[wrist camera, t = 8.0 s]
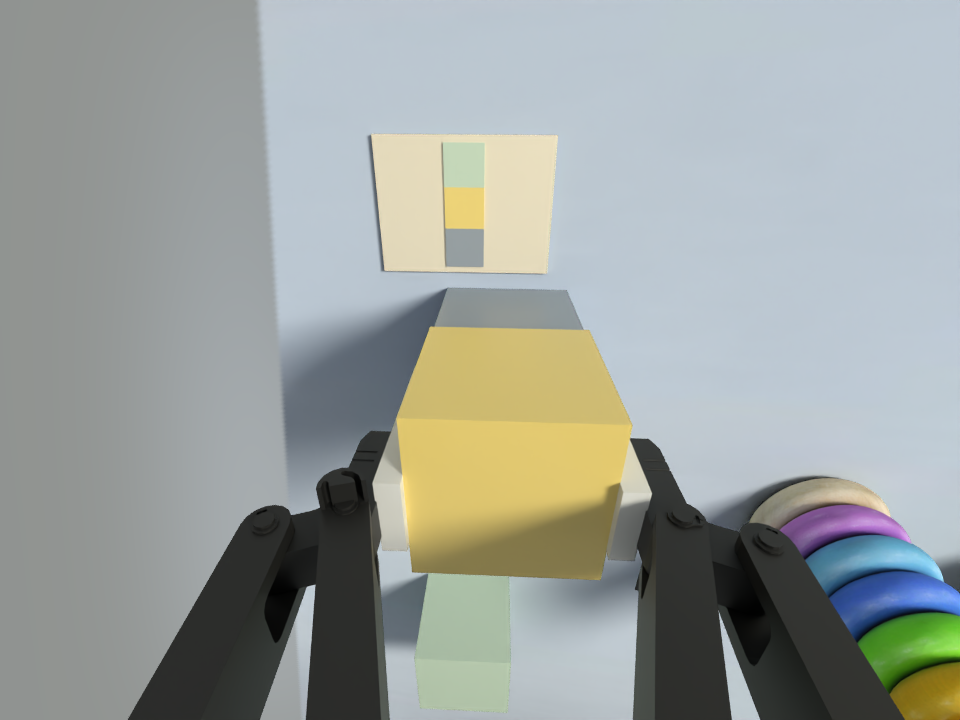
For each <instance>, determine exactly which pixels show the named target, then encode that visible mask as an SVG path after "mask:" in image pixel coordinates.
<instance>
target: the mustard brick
mask: <svg viewBox="0 0 960 720" xmlns="http://www.w3.org/2000/svg"><path fill="white" fill-rule="evenodd" d="M396 419H397V429H398V438H399V448H400V458H401V468H402V476H403V486H404V496H405V505H406V515H407V525H408V535H409V546H410V556H411V565H412V572H417V573H442V574H466V575H490V576H514V577H538V578H562V579H586V580H601V576H602V571H603V566H604V561H605V556H606V549H607V544H608V539H609V534H610V529H611V524H612V520H613V515H614V510H615V505H616V500H617V495H618V490H619V486H620V483H621V479H622V474H623V469H624V464H625V459H626V454H627V449H628V445H629V440H630V435H631V430H632V423H631V421H630V418H629V416H628V414H627V412H626V410H625V408H624V405H623V403H622V401H621V399H620V397H619V394H618V392H617V390H616V388H615V386H614V383H613V381H612V379H611V377H610V375H609V372H608V370H607V368H606V366H605V364H604V361H603V359H602V357H601V355H600V353H599V350H598V348H597V346H596V344H595V342H594V339H593V337H592V335H591V333H590V331H589V330H564V329H518V328H471V327H430V328H429V331H428V334H427V337H426V339H425V342H424V345H423V347H422V350H421V353H420V356H419V358H418V361H417V364H416V367H415V369H414V372H413V375H412V377H411V380H410V383H409V386H408V388H407V391H406V394H405V396H404V399H403V402H402V405H401V407H400V410H399V413H398V415H397V418H396Z"/></svg>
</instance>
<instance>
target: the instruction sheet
mask: <svg viewBox="0 0 960 720" xmlns="http://www.w3.org/2000/svg"><path fill="white" fill-rule="evenodd" d="M371 137H372V147H373V158H374V168H375V178H376V188H377V198H378V209H379V219H380V229H381V239H382V249H383V260H384V270H385V271H423V272H481V273H539V274H547V267H548V254H549V241H550V229H551V216H552V203H553V190H554V178H555V165H556V152H557V140H558V135H449V134H371Z"/></svg>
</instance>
